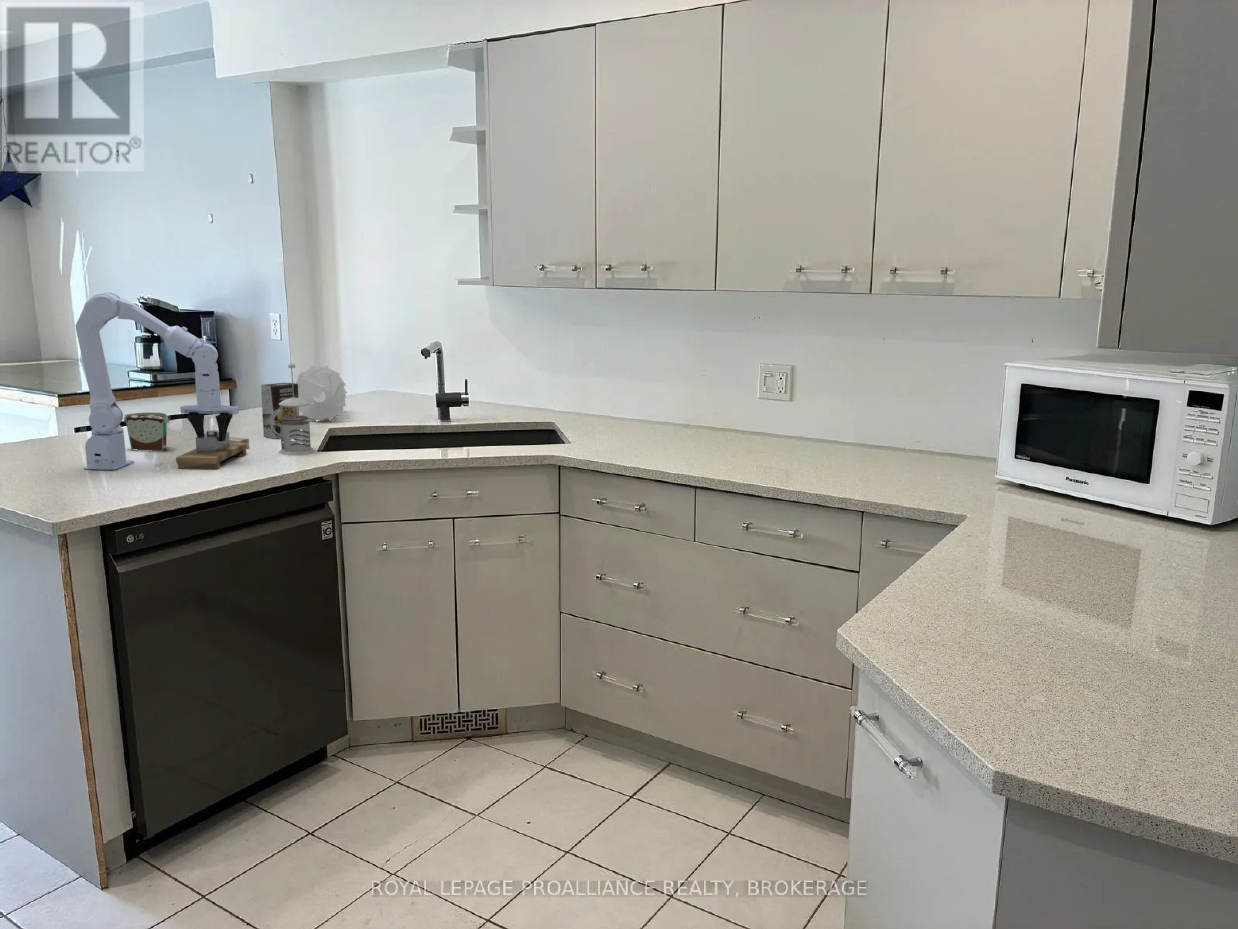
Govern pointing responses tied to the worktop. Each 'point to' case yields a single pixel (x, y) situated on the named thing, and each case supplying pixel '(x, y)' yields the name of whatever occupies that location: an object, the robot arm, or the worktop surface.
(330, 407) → the spiral staircase
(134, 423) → the food container
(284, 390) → the coffee box
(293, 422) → the french press
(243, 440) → the beech offcut
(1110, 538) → the worktop surface
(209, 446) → the block
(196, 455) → the stand
